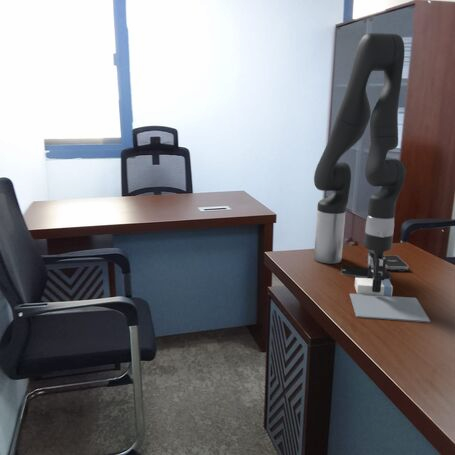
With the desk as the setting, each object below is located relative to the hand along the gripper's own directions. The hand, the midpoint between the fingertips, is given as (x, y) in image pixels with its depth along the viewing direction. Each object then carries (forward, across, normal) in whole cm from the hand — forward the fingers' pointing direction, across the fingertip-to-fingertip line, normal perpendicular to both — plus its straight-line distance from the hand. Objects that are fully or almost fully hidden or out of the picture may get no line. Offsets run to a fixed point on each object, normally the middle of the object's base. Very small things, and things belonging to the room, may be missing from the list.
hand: (373, 286), depth 134 cm
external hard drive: (+2, -23, +10) cm, 25 cm away
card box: (+2, 0, 0) cm, 2 cm away
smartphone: (+2, -14, 0) cm, 14 cm away
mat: (+2, +11, +2) cm, 11 cm away
